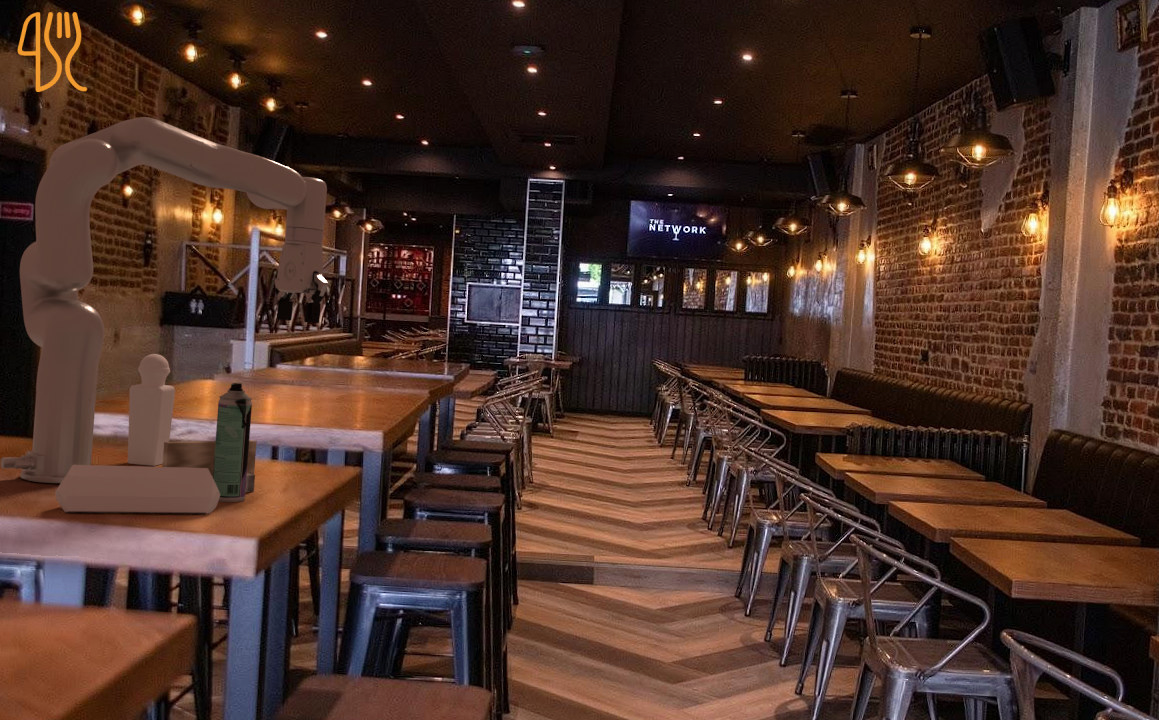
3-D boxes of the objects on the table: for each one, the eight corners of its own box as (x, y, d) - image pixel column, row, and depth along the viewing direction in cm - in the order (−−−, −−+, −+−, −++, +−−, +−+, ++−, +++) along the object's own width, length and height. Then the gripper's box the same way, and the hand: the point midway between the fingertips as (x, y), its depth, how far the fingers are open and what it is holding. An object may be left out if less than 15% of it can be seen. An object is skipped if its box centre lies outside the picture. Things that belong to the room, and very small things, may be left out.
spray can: (251, 499, 180) (260, 384, 179) (228, 503, 175) (237, 385, 174) (227, 495, 182) (236, 381, 182) (204, 498, 177) (212, 381, 177)
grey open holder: (184, 495, 178) (187, 449, 178) (160, 486, 185) (164, 442, 185) (274, 490, 190) (277, 447, 190) (249, 482, 197) (252, 440, 197)
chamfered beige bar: (51, 491, 154) (222, 494, 163) (57, 461, 160) (222, 465, 169) (51, 529, 158) (218, 530, 167) (56, 498, 163) (218, 500, 172)
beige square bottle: (139, 459, 212) (147, 352, 212) (170, 462, 212) (178, 355, 211) (123, 463, 206) (131, 352, 205) (155, 466, 205) (163, 355, 205)
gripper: (264, 235, 217) (258, 317, 217) (313, 236, 205) (306, 322, 206) (295, 240, 222) (289, 320, 223) (344, 241, 211) (338, 325, 212)
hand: (297, 321), depth 214 cm, fingers open, 9 cm apart
